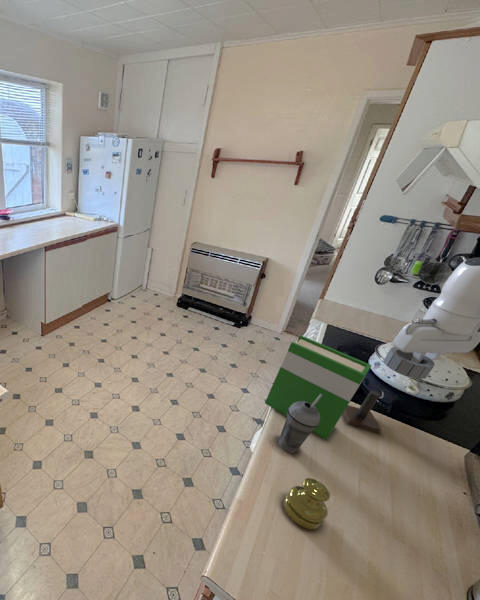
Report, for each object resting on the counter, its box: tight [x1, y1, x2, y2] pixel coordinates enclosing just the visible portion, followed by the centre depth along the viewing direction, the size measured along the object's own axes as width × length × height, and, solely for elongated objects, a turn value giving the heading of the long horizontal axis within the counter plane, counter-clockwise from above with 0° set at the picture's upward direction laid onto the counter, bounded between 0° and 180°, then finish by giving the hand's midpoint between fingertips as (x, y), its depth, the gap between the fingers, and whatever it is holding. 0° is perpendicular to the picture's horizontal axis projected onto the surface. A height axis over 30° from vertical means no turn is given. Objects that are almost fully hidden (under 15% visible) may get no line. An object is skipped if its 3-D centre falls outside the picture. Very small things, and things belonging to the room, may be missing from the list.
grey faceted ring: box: [383, 346, 436, 380], centre depth 87 cm, size 9×9×4 cm
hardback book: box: [264, 334, 372, 440], centre depth 96 cm, size 18×7×24 cm, turn 39°
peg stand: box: [342, 390, 381, 434], centre depth 99 cm, size 8×8×11 cm
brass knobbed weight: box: [283, 477, 331, 530], centre depth 72 cm, size 7×7×10 cm
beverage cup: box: [278, 394, 322, 454], centre depth 86 cm, size 7×7×20 cm
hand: (420, 363), depth 88 cm, fingers closed on grey faceted ring
